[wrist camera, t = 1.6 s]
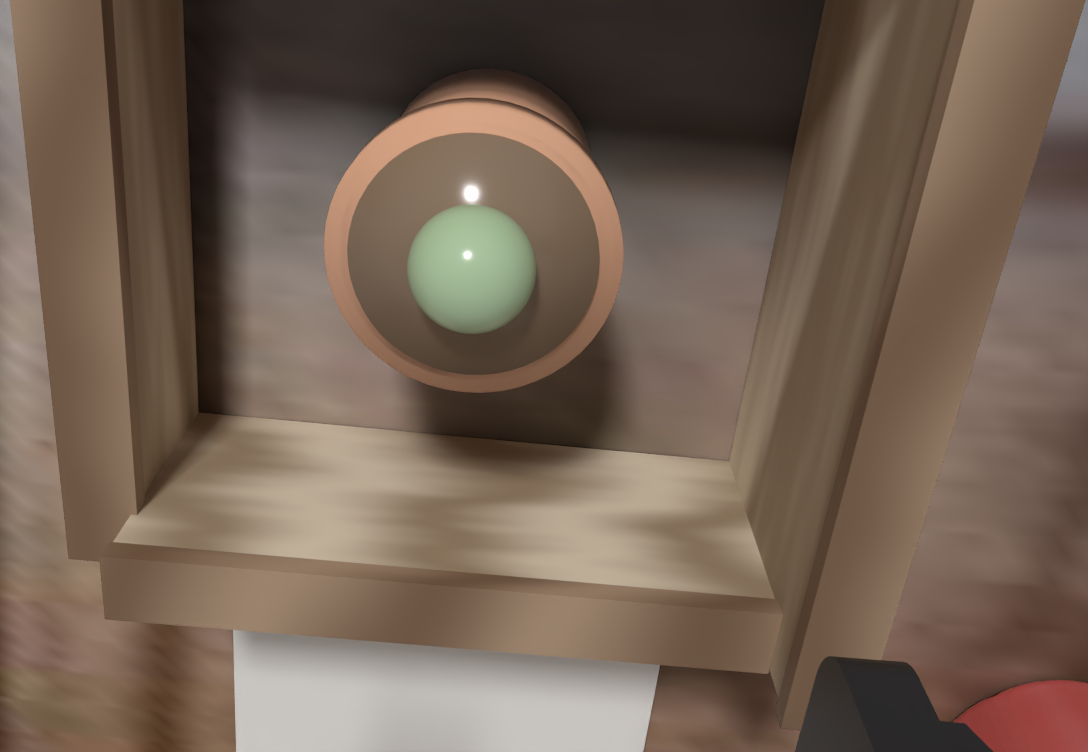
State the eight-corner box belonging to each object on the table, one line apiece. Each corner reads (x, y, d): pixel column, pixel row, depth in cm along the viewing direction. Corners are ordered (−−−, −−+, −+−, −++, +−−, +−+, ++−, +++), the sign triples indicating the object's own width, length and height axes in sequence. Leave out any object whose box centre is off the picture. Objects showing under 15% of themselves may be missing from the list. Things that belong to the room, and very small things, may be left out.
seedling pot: (619, 69, 27) (654, 147, 18) (589, 295, 29) (608, 449, 21) (378, 43, 26) (305, 109, 18) (369, 272, 29) (302, 420, 21)
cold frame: (935, -187, 24) (1157, -234, 15) (771, 512, 32) (856, 740, 24) (98, -290, 23) (-168, -402, 15) (145, 455, 31) (-7, 670, 23)
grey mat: (675, 566, 33) (677, 575, 33) (616, 872, 39) (617, 883, 38) (235, 528, 32) (230, 537, 32) (242, 845, 38) (238, 856, 38)
